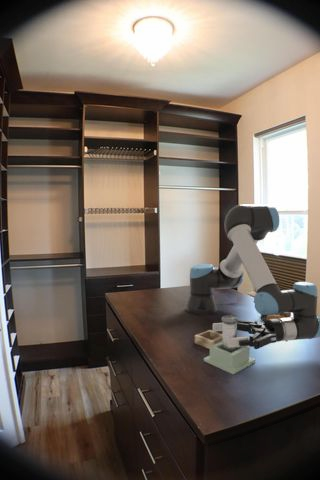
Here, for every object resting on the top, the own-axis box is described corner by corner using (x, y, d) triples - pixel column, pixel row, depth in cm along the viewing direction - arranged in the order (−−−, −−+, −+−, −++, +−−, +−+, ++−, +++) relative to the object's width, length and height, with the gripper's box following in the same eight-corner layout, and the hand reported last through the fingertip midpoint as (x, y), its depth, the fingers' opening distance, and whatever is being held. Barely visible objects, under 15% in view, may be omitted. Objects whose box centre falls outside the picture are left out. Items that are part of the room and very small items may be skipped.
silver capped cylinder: (218, 361, 107) (218, 317, 105) (227, 356, 110) (228, 314, 109) (230, 366, 103) (231, 321, 101) (240, 361, 106) (240, 318, 105)
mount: (194, 342, 122) (194, 335, 122) (209, 337, 127) (209, 329, 127) (212, 350, 115) (212, 342, 115) (226, 343, 121) (226, 335, 121)
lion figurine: (284, 324, 141) (284, 304, 140) (294, 328, 136) (294, 307, 136) (259, 330, 134) (259, 309, 133) (269, 334, 129) (269, 313, 129)
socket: (203, 361, 107) (203, 346, 106) (226, 350, 115) (226, 337, 114) (233, 374, 98) (233, 358, 97) (255, 362, 106) (255, 347, 105)
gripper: (301, 356, 97) (235, 363, 93) (260, 327, 121) (207, 332, 117) (301, 332, 96) (235, 338, 92) (261, 308, 121) (207, 312, 117)
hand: (220, 334), depth 105 cm, fingers open, 13 cm apart
